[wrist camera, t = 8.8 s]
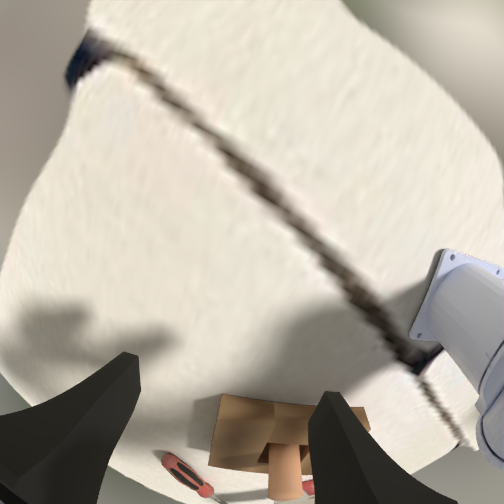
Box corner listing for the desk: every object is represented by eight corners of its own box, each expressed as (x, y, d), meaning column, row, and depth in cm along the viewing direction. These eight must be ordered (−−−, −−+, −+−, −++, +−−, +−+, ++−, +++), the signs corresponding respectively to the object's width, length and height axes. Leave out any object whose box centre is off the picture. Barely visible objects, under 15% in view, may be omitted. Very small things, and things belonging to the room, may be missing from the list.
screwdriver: (246, 506, 33) (245, 519, 30) (231, 507, 34) (230, 519, 31) (177, 448, 26) (172, 467, 24) (158, 448, 27) (152, 466, 24)
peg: (293, 421, 23) (298, 489, 16) (300, 435, 24) (305, 497, 16) (265, 427, 24) (263, 493, 16) (273, 441, 24) (273, 502, 17)
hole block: (363, 407, 22) (370, 429, 20) (327, 455, 26) (330, 474, 23) (222, 393, 22) (217, 418, 19) (211, 445, 25) (207, 465, 22)
